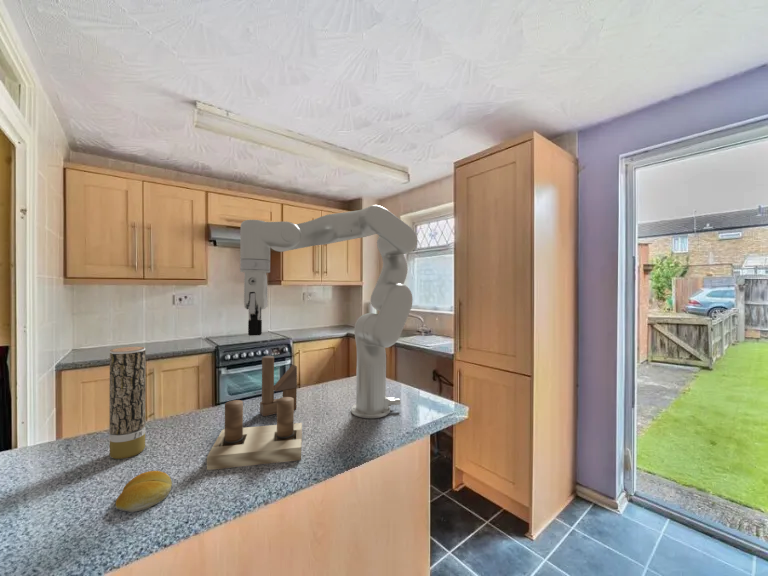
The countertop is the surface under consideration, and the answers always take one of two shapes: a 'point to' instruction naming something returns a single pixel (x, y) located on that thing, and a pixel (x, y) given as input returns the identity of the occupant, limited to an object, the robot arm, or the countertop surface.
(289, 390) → the brown wooden angled piece
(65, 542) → the countertop surface
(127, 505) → the bread roll
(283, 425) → the seated peg
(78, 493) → the countertop surface
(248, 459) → the socket board
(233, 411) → the walnut peg
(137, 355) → the paper tube
